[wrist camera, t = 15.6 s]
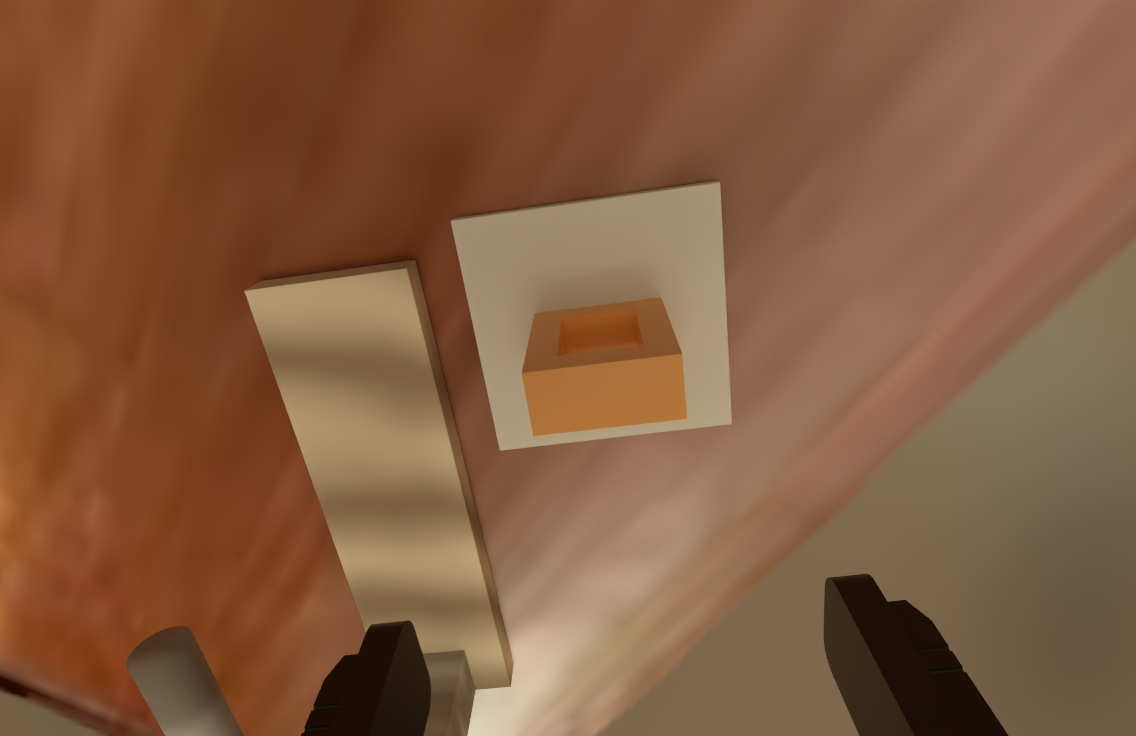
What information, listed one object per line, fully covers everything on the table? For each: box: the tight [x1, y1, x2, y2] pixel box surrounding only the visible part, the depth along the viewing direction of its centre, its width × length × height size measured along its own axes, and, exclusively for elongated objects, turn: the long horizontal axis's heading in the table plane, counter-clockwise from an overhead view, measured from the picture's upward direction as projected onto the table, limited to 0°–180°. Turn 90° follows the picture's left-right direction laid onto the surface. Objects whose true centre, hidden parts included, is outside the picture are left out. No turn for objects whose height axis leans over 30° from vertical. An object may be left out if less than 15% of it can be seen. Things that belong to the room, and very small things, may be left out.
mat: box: [451, 180, 732, 450], centre depth 28 cm, size 11×11×1 cm
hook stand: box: [127, 260, 513, 736], centre depth 24 cm, size 24×7×18 cm, turn 8°
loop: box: [522, 297, 687, 436], centre depth 25 cm, size 6×2×6 cm, turn 98°
